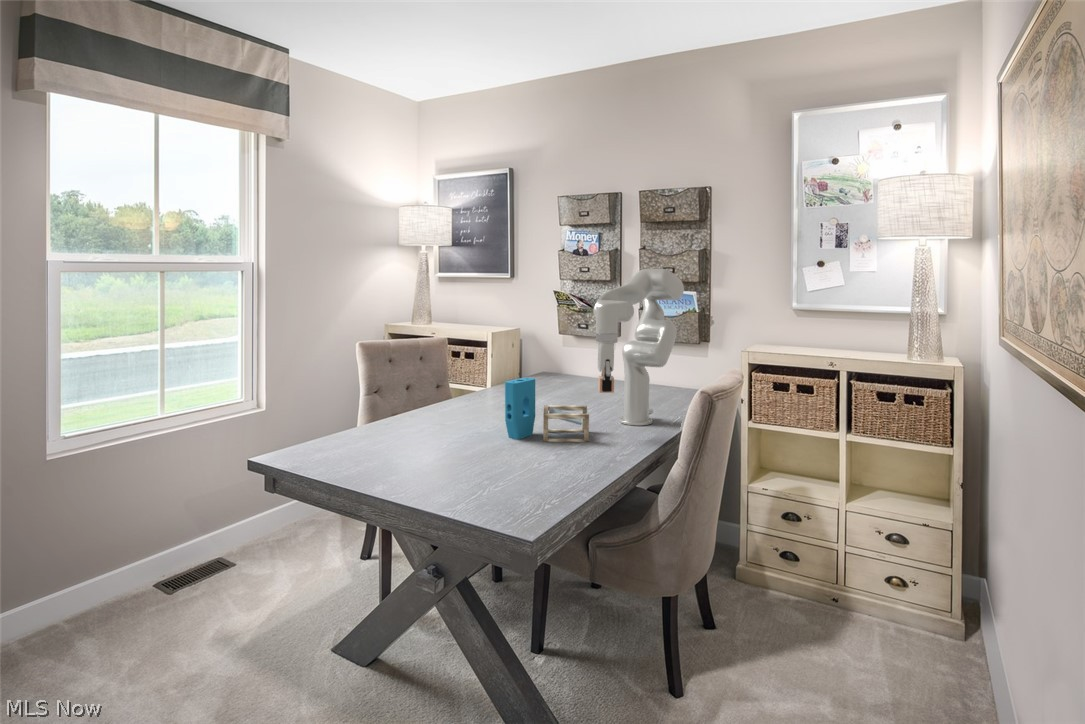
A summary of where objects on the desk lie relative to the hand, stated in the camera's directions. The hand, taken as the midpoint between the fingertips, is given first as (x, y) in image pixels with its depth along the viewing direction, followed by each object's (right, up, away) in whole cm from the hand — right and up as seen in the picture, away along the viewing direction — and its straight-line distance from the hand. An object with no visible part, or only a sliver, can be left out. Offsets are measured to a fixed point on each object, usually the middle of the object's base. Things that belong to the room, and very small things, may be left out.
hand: (606, 389), depth 223 cm
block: (-30, -17, +3) cm, 35 cm away
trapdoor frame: (-14, -17, +2) cm, 22 cm away
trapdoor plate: (-14, -10, +1) cm, 18 cm away
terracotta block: (0, -1, 0) cm, 1 cm away
